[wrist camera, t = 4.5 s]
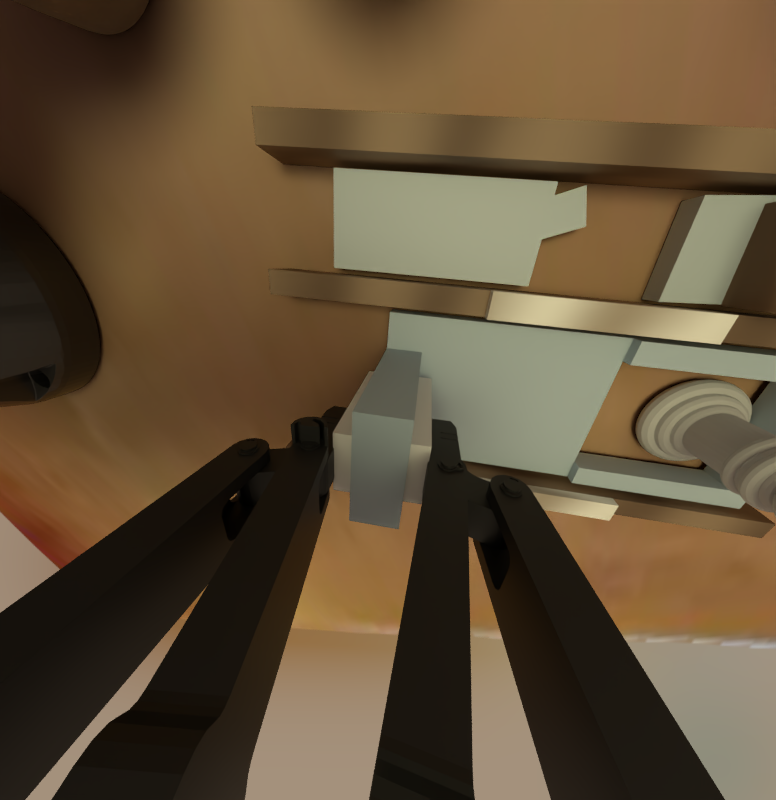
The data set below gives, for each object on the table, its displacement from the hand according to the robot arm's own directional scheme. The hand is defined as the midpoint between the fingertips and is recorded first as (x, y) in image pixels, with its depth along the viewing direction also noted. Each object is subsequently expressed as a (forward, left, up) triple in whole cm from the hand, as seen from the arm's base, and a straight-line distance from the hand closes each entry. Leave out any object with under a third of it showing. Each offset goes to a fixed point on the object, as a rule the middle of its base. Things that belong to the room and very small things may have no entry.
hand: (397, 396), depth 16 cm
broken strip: (+9, +9, -2) cm, 13 cm away
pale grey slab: (+10, 0, -2) cm, 10 cm away
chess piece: (+17, 0, -3) cm, 17 cm away
